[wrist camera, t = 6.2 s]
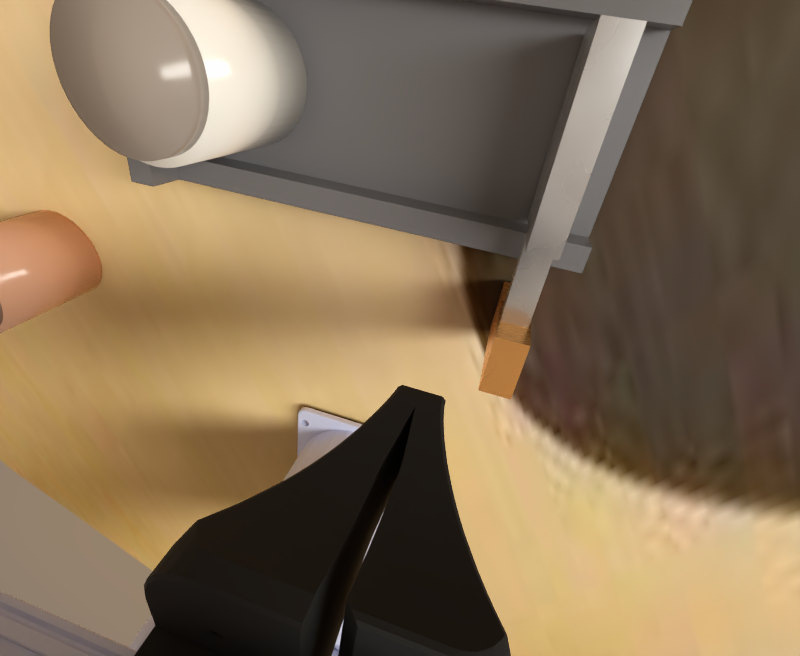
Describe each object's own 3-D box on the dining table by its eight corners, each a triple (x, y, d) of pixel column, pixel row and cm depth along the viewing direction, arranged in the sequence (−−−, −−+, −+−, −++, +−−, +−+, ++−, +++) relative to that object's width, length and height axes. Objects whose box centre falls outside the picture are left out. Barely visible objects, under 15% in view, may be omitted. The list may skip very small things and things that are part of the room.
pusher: (516, 334, 20) (510, 401, 15) (490, 327, 20) (478, 391, 16) (617, 39, 14) (651, 22, 9) (579, 33, 14) (596, 13, 10)
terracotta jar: (110, 299, 26) (7, 352, 21) (43, 279, 27) (-71, 326, 22) (90, 221, 24) (-33, 259, 18) (17, 201, 24) (-120, 234, 19)
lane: (577, 254, 17) (585, 290, 14) (190, 166, 20) (131, 181, 17) (679, -8, 13) (721, -33, 10) (161, -74, 16) (75, -109, 13)
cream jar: (305, 156, 18) (211, 187, 12) (199, 134, 18) (69, 154, 13) (308, 6, 15) (189, -32, 10) (183, -13, 16) (14, -57, 11)
